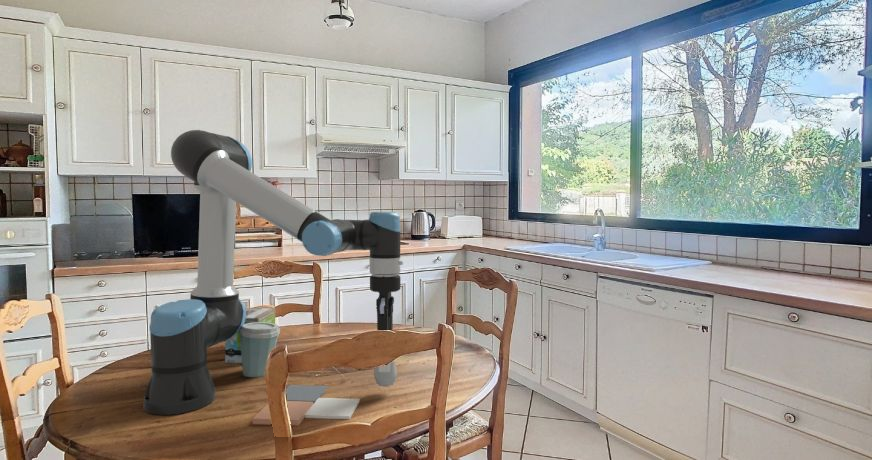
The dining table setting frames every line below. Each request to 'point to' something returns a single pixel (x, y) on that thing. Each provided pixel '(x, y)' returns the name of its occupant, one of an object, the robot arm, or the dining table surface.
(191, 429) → the dining table surface
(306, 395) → the slate coaster
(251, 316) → the tea box
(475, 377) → the dining table surface
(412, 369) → the dining table surface
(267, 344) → the disposable coffee cup
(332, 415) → the white coaster
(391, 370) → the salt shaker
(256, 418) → the terracotta coaster
